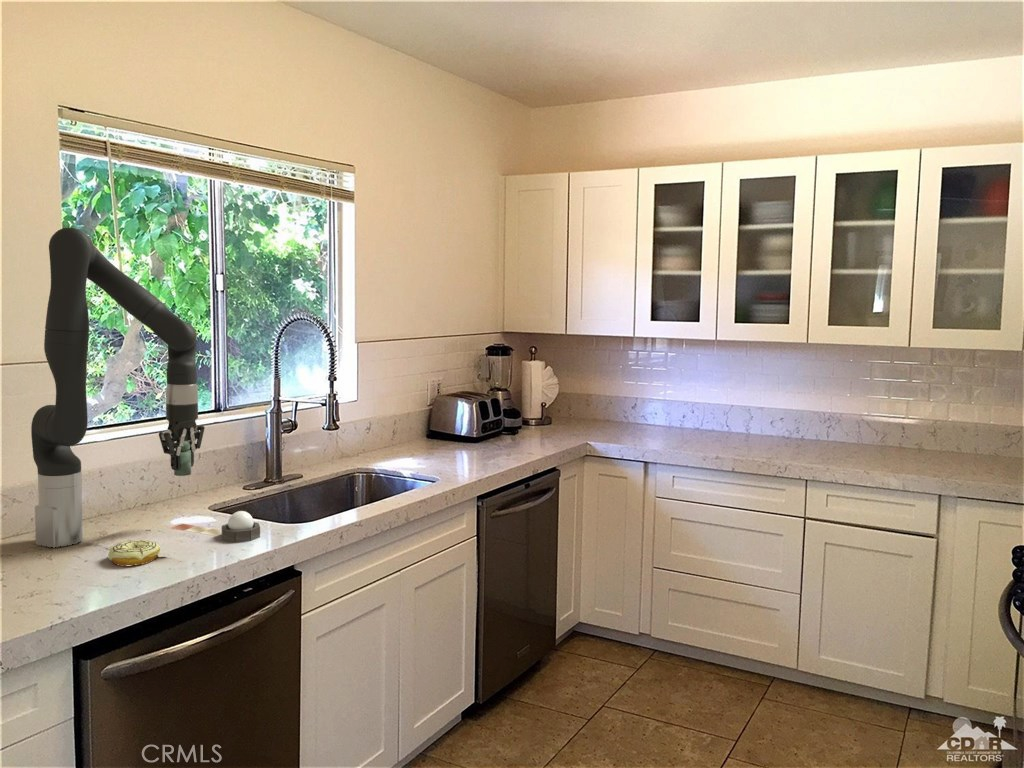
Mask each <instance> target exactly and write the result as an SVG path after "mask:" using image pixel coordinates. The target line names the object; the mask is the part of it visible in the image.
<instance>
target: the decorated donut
mask: <svg viewBox="0 0 1024 768" xmlns="http://www.w3.org/2000/svg"><path fill="white" fill-rule="evenodd" d="M160 552H161V546H160V544H158V543H157V542H155V541H152V540H148V539H137V540H136V539H133V540H132V539H130V540H126V541H122V542H118V543H116V544H114V545H113V546H112V547H111V548H110V550H109V552H108V554H107V555H108V557H107V558H108V560H109V561H112V563H114V564H115V565H116V564H119V565H118V566H120V565H135V564H141V565H143V564H142V563H146V562H148V563H150V562H149V561H151V560H153V561H154V560H156V559H157V558H158V556H159V554H160ZM151 562H152V561H151Z"/></svg>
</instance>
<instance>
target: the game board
mask: <svg viewBox="0 0 1024 768" xmlns="http://www.w3.org/2000/svg"><path fill="white" fill-rule="evenodd" d="M170 529H173V530H179V531H185V532H192V533H197V534H203V535H208V536H217V535H219V534H221V539H222V541H225V542H229V543H247V542H251V541H254V540H256V539H257V540H258V539H260V538H261V526H260V524H259V522H254V521H253V527H252V528H251V529H249V530H238V531H236V530H230V529H229V527H228V523H225V524H223V525H221V529H218V528H210V527H205V526H198V525H193V524H186V523H180V524H177V525H175V526H172V527H170Z"/></svg>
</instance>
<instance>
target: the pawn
mask: <svg viewBox="0 0 1024 768" xmlns="http://www.w3.org/2000/svg"><path fill="white" fill-rule="evenodd" d="M175 443H178V442H176V441H175ZM189 449H190V443H189V442H188V441H186V440H185V441H184V443H183V446H182V447H181V451H180V455H179V456H180V470H173V474H174V476H177V477H178V476H179V477H185V476H190V475H192V467H191V450H189ZM175 450H176V446H175Z"/></svg>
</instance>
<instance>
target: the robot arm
mask: <svg viewBox="0 0 1024 768" xmlns="http://www.w3.org/2000/svg"><path fill="white" fill-rule="evenodd" d="M48 252H49V254H48V255H49V265H50V267H49V269H50V290H49V296H48V297H49V298H48V302H47V309H46V315H45V327H44V339H43V340H44V342H43V344H44V345H43V349H44V355H45V358H46V361H47V364H48V366H49V369H50V371H51V375H52V376H53V377H52V378H53V381H54V383H55V404H46V405H44V406H42V407H40V408H39V409H37V410H36V412H35V413H34V415H33V416H32V417H33V418H32V421H31V425H30V428H31V429H30V432H31V436H30V437H31V446H32V457H33V462H34V463H35V465H36V469H37V492H38V493H37V498H38V501H37V502H38V503H37V505H35V506H34V527H35V533H34V534H35V545H36V544H37V545H36V546H41V545H42V546H41V547H46V546H47V548H51V547H53V548H52V549H56V548H60V546H61V547H67V545H68V546H73V545H76V544H79V543H80V541H81V542H82V541H83V539H84V537H83V535H84V534H83V489H82V488H83V487H82V486H83V485H82V480H83V479H82V461H81V459H80V457H78V456H77V455H76V454H75V453H74V452H73V450H72V448H71V447H73V446H75V445H78V444H79V443H81V442H82V440H83V439H84V437H85V435H86V433H87V431H88V421H89V420H88V418H89V416H88V403H87V401H88V400H87V371H88V370H87V367H88V365H87V364H88V353H89V352H88V351H89V342H90V341H89V338H90V337H89V336H90V318H89V309H88V301H87V300H88V299H87V279H88V280H89V281H90V282H92V283H93V284H95V285H96V286H97V287H99V288H100V289H101V290H102V291H104V292H105V293H106V294H107V295H108V296H109V297H110V298H112V300H114V301H115V302H116V303H117V304H118V305H119V306H120V307H121V308H123V310H125V311H126V312H127V313H128V314H130V315H131V316H133V318H135V319H136V320H138V322H140V323H141V324H143V326H146V327H147V328H148V329H149V330H151V331H152V332H153V333H154V334H155V335H156V336H157V337H158V338H159V339H160V340H161V341H163V342H164V343H165V344H166V345H167V355H168V356H167V358H168V359H167V361H168V362H167V364H166V365H167V366H166V390H165V419H166V421H167V422H168V426H167V429H166V430H165V431H159V433H158V437H159V441H160V443H161V448H162V451H163V454H167V455H169V456H170V468H171V470H172V471H174V470H180V456H179V455H180V451H181V447H182V446H183V443H184V441H185V440H186V441H188V442H189V443H190V449H189V450H191V468H192V467H194V463H195V452H196V450H197V449H201V446H202V441H203V438H204V437H203V436H204V433H205V429H206V428H205V426H204V425H198V424H197V422H196V420H198V419H199V391H198V384H197V383H198V382H197V380H198V377H197V376H198V372H197V371H198V370H197V364H196V360H197V359H196V356H197V344H198V343H197V341H198V338H197V336H198V335H197V331H196V329H195V327H194V326H193V325H192V324H191V323H189V322H187V321H184V320H182V319H181V318H180V317H179V316H178V315H176V314H175V313H174V312H173V311H171V310H170V309H169V308H168V307H167V305H165V303H164V302H163V301H162V300H160V299H159V298H158V297H156V296H155V295H154V294H153V293H151V292H150V291H149V290H147V289H146V288H145V287H143V285H141V284H140V283H138V282H137V281H135V280H134V279H132V278H131V277H129V276H128V275H127V274H125V273H124V272H122V271H121V270H120V269H119V268H118V267H117V266H115V265H114V264H113V263H111V262H110V260H108V258H107V257H106V256H105V255H104V254H102V252H101V251H100V250H99V249H98V248H97V246H96V245H95V244H94V243H93V241H92V239H91V238H90V237H89V236H88V235H87V234H86V233H85V232H84V231H82V230H81V229H79V228H75V227H71V226H70V227H64V228H63V227H62V228H61V229H58V230H57V231H55V232H54V234H52V235H51V237H50V240H49V243H48ZM176 442H178V443H176ZM175 446H176V449H175ZM78 542H79V543H78ZM72 544H73V545H72ZM55 547H56V548H55Z"/></svg>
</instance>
